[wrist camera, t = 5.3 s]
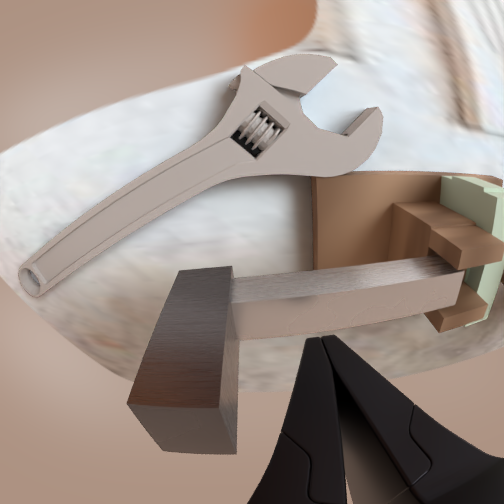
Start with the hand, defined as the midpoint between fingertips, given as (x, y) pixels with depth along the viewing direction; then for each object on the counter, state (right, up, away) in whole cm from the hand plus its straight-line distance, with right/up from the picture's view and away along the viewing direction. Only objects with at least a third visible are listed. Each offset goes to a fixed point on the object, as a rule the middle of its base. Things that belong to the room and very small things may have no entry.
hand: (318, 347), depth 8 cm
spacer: (+10, +4, +6) cm, 12 cm away
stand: (+8, +4, +7) cm, 12 cm away
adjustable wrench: (-8, +6, +7) cm, 12 cm away
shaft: (+1, +1, +3) cm, 4 cm away
